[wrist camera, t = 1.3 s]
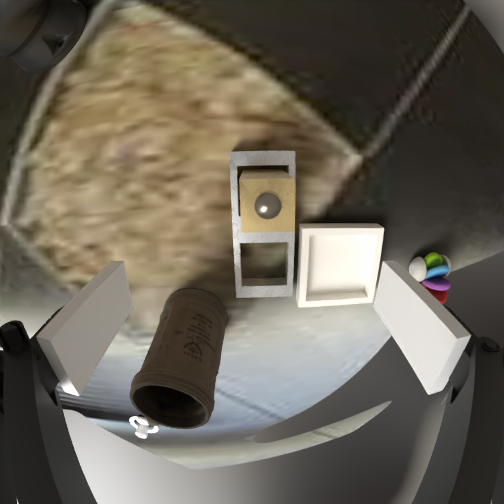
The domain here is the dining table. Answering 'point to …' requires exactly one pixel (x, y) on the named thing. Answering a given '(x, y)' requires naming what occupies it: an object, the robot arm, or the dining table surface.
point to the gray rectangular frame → (260, 285)
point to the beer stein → (182, 362)
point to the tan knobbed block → (267, 201)
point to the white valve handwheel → (142, 427)
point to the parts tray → (337, 263)
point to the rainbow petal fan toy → (432, 274)
